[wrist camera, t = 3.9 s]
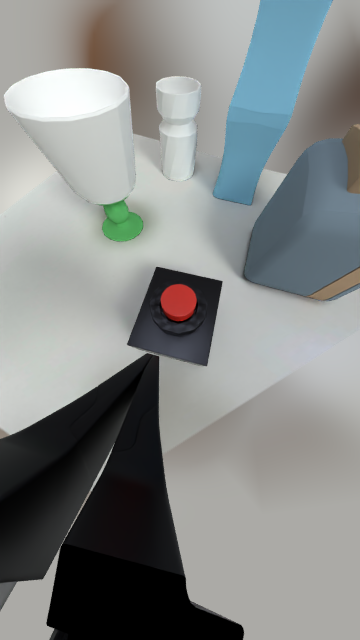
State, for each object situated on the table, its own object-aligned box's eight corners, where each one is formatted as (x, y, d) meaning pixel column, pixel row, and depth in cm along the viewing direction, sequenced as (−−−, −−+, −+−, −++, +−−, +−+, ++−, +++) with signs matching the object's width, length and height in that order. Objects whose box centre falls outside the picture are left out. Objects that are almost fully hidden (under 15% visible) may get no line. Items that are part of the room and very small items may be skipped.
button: (190, 325, 16) (192, 320, 14) (158, 316, 16) (155, 311, 14) (197, 295, 17) (199, 288, 15) (167, 288, 17) (166, 280, 16)
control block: (199, 365, 21) (210, 366, 14) (139, 349, 22) (120, 342, 15) (213, 299, 25) (227, 272, 18) (161, 287, 25) (154, 257, 18)
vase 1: (158, 178, 36) (148, 91, 24) (167, 160, 38) (162, 73, 27) (190, 184, 35) (195, 97, 24) (197, 165, 38) (205, 78, 26)
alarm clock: (328, 308, 24) (573, 216, 9) (239, 283, 26) (323, 170, 11) (326, 242, 29) (484, 111, 14) (251, 224, 31) (321, 89, 16)
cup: (117, 198, 33) (66, 60, 18) (165, 218, 31) (152, 82, 16) (78, 234, 29) (-27, 98, 14) (129, 260, 27) (69, 132, 12)
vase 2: (219, 174, 36) (295, -181, 13) (255, 181, 36) (409, -184, 12) (211, 197, 34) (291, -210, 10) (250, 205, 33) (442, -217, 9)
